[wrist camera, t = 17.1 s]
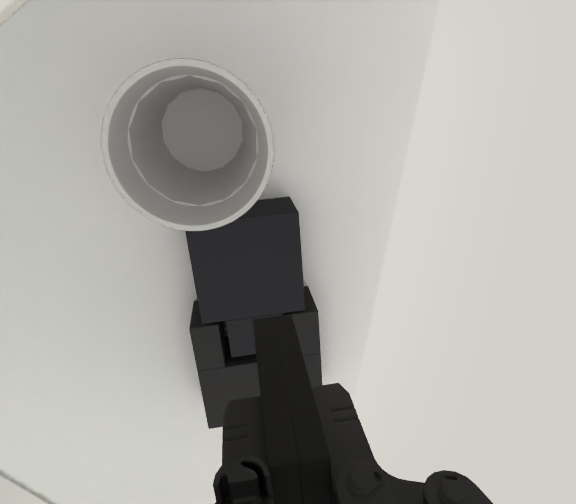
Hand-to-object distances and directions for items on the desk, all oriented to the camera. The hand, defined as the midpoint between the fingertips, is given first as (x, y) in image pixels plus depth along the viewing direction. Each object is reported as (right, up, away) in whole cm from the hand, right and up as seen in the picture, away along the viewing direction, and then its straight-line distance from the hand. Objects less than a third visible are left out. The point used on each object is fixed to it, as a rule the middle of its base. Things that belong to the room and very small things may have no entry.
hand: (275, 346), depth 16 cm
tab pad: (-3, +2, +19) cm, 19 cm away
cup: (-6, +13, +15) cm, 20 cm away
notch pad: (-2, -5, +22) cm, 22 cm away
